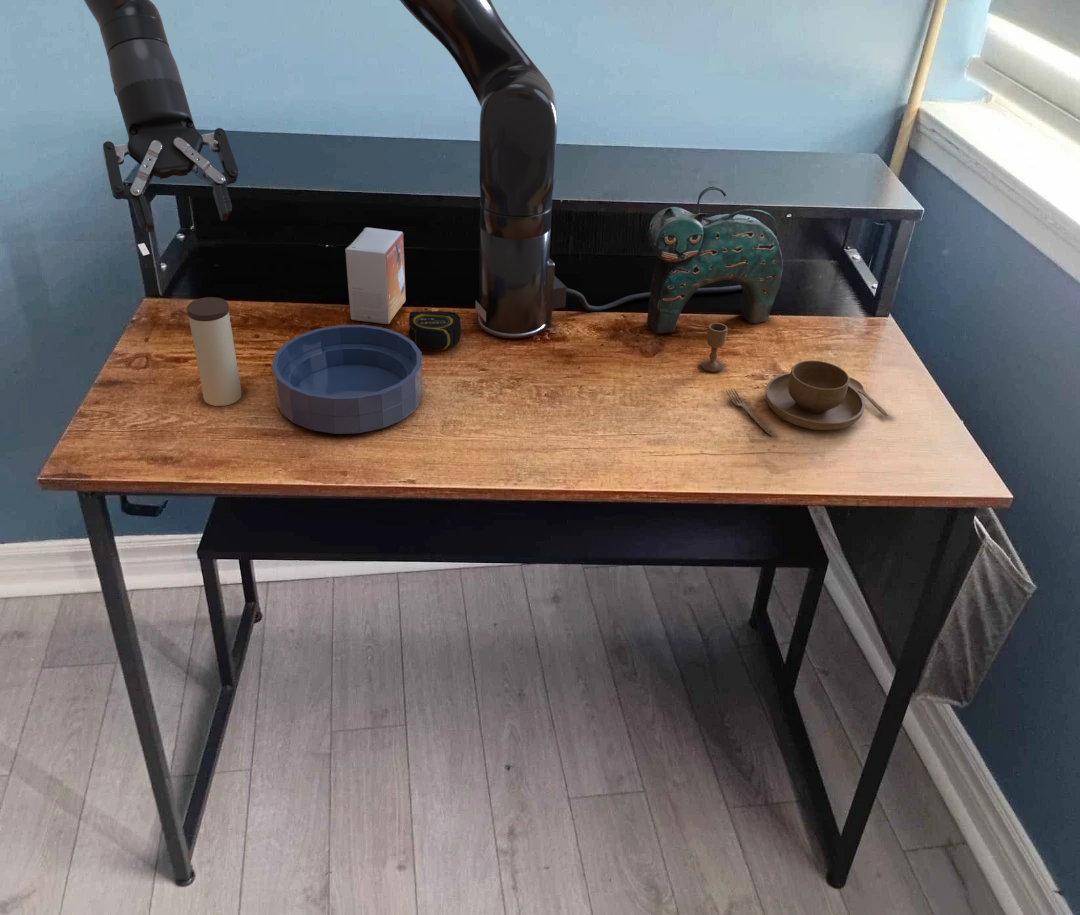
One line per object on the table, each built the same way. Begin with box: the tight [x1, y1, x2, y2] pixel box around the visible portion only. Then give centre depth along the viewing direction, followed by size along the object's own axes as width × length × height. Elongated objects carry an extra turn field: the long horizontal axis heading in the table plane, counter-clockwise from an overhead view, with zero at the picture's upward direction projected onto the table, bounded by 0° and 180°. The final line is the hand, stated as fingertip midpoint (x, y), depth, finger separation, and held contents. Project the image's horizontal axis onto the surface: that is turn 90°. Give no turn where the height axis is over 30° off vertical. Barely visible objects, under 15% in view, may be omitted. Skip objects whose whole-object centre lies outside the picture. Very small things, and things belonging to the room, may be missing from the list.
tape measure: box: [408, 310, 462, 352], centre depth 129 cm, size 7×7×4 cm
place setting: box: [700, 322, 889, 437], centre depth 122 cm, size 18×20×6 cm
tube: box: [186, 296, 243, 407], centre depth 114 cm, size 4×4×12 cm
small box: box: [344, 227, 407, 325], centre depth 134 cm, size 8×6×10 cm
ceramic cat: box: [646, 186, 784, 335], centre depth 132 cm, size 20×6×20 cm, turn 106°
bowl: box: [271, 324, 424, 435], centre depth 116 cm, size 17×17×6 cm
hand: (188, 224), depth 115 cm, fingers open, 8 cm apart
